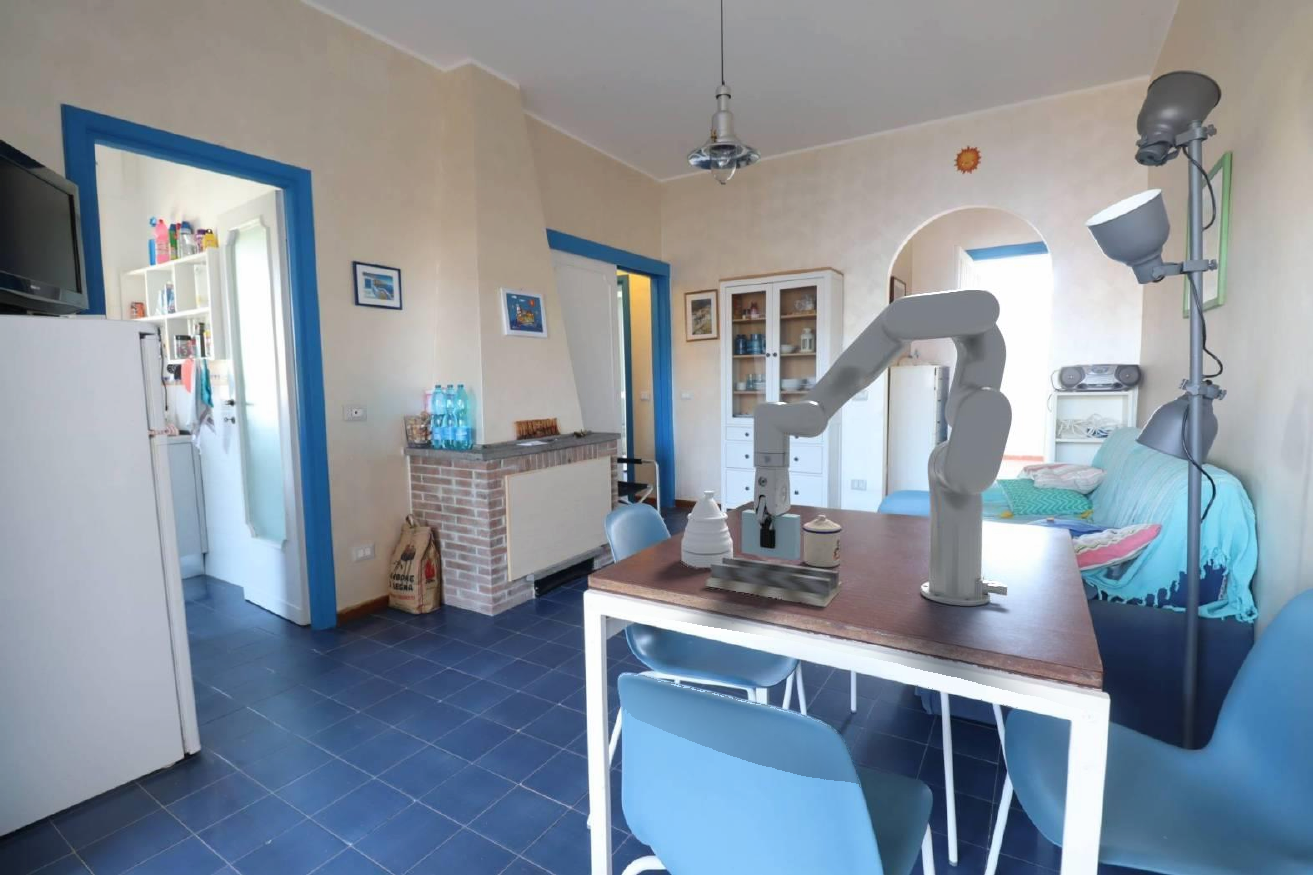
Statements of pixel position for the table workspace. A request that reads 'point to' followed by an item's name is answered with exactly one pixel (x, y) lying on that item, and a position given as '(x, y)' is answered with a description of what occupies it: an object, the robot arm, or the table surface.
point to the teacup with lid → (822, 543)
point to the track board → (776, 580)
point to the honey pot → (706, 534)
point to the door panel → (784, 536)
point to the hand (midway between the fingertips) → (770, 544)
